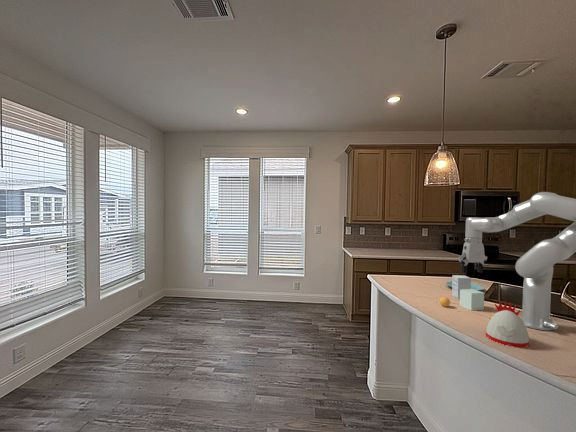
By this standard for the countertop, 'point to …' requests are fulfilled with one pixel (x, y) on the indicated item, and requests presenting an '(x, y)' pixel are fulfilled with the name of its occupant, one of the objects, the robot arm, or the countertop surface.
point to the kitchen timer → (507, 327)
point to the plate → (473, 286)
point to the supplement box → (460, 284)
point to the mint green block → (472, 299)
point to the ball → (444, 301)
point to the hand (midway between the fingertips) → (472, 272)
